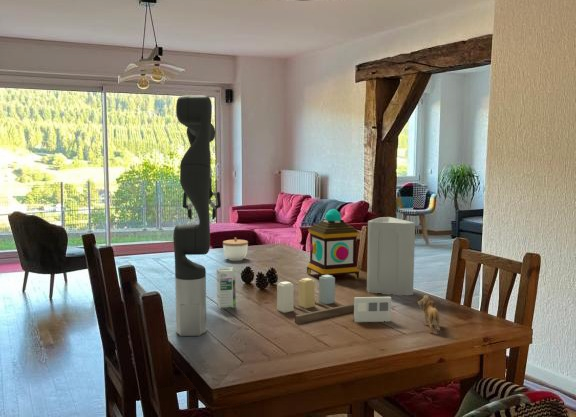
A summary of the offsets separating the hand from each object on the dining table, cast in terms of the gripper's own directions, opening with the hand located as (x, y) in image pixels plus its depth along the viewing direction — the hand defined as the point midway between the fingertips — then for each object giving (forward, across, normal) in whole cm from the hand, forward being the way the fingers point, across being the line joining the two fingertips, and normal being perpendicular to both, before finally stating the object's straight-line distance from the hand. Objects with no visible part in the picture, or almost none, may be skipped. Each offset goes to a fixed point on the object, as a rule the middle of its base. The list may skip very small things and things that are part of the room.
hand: (202, 219), depth 214 cm
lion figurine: (+29, +74, -47) cm, 92 cm away
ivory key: (+28, +29, -29) cm, 50 cm away
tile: (+29, +57, -40) cm, 75 cm away
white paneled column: (+29, +72, -1) cm, 77 cm away
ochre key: (+28, +37, -25) cm, 53 cm away
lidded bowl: (+29, +13, +66) cm, 73 cm away
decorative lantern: (+29, +55, +24) cm, 67 cm away
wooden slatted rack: (+29, +39, -29) cm, 56 cm away
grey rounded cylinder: (+28, +45, -21) cm, 57 cm away
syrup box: (+29, +9, -22) cm, 38 cm away
